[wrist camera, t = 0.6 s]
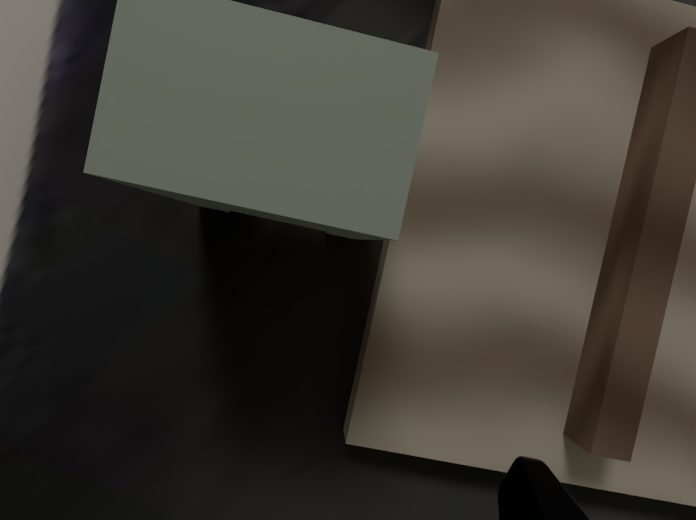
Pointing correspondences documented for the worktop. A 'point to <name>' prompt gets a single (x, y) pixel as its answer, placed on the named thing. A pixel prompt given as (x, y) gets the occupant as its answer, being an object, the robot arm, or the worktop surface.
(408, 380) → the cleat board
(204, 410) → the worktop surface
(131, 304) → the worktop surface
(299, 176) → the grey-green notched block
